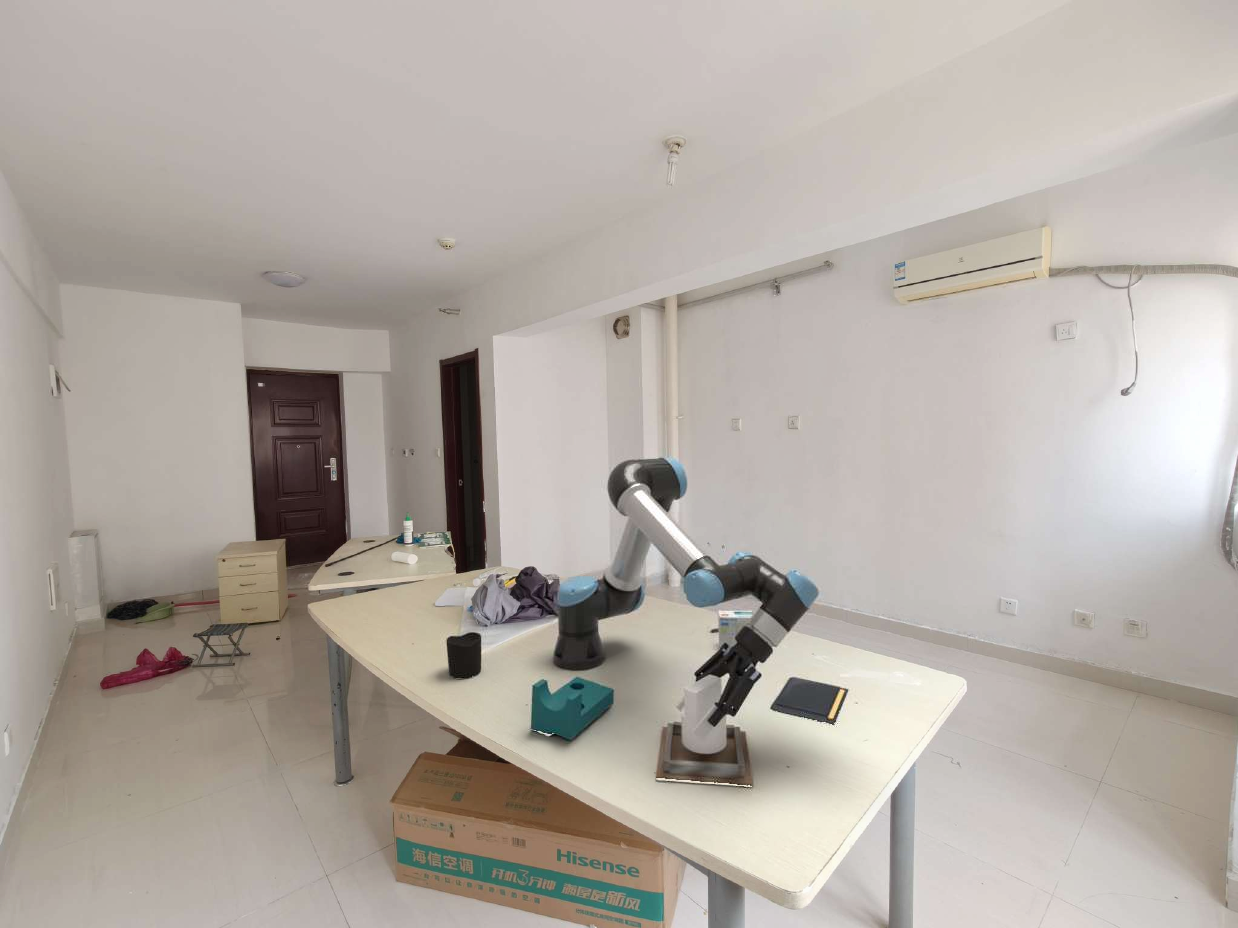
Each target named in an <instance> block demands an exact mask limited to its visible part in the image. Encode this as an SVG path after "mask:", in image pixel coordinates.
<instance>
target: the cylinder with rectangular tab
mask: <svg viewBox="0 0 1238 928" xmlns="http://www.w3.org/2000/svg"><path fill="white" fill-rule="evenodd" d="M683 692H684V693H683V695H684V696H683V697H684V707H683V708H682V710H681V711H680V713H681V716H680V717H681V721H680V722H682V743H683V745H684V746H685V747H686V748H687V749H689V750H691V751H693V752H696V753H701V754H712V753H716V752H719V751H721V750H723V749H724V748H725V746H726V744H727V741H726V725H727V715H725V716H724V717H723V718H722V719H721V721H719V723H718V724H717V725H716V726H715V727H714V728H713V729H712V730H711V731H710V733H709V734H708V735H707V736H706V737H705V739H704V740H702V739H701V738H700V737H699V736H697V735H696V734H695V733H694V732H693V731H692V730H693V729H694V727H695V726H696V725H697V724H698V723H699V721H700V720H701V719H702V718H703V717H704V715H705V714H706V713H707V712H708V710H709V709H710V708H711V707H712V706H713V704H715V703H716V702H719V700H720V698H721V695H722V693H723V691H722V677H721V678H719V677H717V676H713V675H708V676H706V677H704V678H702V679H700V680H699V681H697V682H696V681H695V682H694V683H691V684H689V685H688V686H685V687H684V689H683Z"/></svg>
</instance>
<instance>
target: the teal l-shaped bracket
mask: <svg viewBox="0 0 1238 928" xmlns="http://www.w3.org/2000/svg"><path fill="white" fill-rule="evenodd" d="M548 682H549V681H548V680H547V679H544V678H541V679H540V680H538V681H537V682H535V683H534V684H533V685H532V687H531V689H532V690H531V711H530V712H531V714H530V730H531V729H533V730H536V731H541V732H543V733H547V734H552V733H555V734H556V735H558V736H560V737H563V738H564V739H567V740H570V741H571V740H573V739H574V738H575V737H576V736H577V735H579V733H581V732H582V731H583V730H584V729H585V728H586V727H588V726H589V725H591V723H592V722H593V721H595V720H596V719H597V718H599V717H600V716H601V715H602V714H603V713H604V712H606V710H607V709H609V708H610V707H611V706H612V705H613V704H614V697H615V696H614V695H615V694H614V693H615V689H614V688H611V687H610V686H605V685H603V684H600V683H596V682H593V681H591V680H588V679H585V678H583V677H579V676H575V677H574V678H573V679H572V680H570V681H568V682H567V683H566V684H564V685H563V686H561V687H560V688H558V689H557V690H556V691H554V692H553V693H551V691H550V688H549V685H548V684H549V683H548ZM533 730H532V731H533ZM555 734H554V735H555Z"/></svg>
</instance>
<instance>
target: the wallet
mask: <svg viewBox="0 0 1238 928" xmlns="http://www.w3.org/2000/svg"><path fill="white" fill-rule="evenodd" d="M848 692H849V689H848V688H845V687H841V686H837V685H834V684H829V683H824V682H819V681H815V680H810V679H804V678H801V677H796V676H792V677H791V676H790V677H789V678H788V680H786V682H785V684H784V686H783V688H782V689H781V690H780V692H779V694H778V695H777V696H776V698H775V700H774V701H773V702H772V704H770V707H769V710H772V711H773V712H776V711H777V713H781V714H785V715H788V714H789V716H794V717H797V716H798V718H801V717H802V718H803V717H804V718H803V719H805V718H807V719H806V720H809V719H812V720H811V721H814V720H817V721H816V722H818V723H822V722H826V723H829V724H828V725H830V724H832V726H835V725H836V723H837V721H836V719H837V720H838V718H839V715H840V712H841V710H842V707H843V705H844V701H845V700H846V697H847V694H848ZM839 711H840V712H839ZM838 714H839V715H838ZM837 717H838V718H837ZM835 722H836V723H835ZM826 723H825V724H826ZM834 723H835V724H834Z"/></svg>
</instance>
